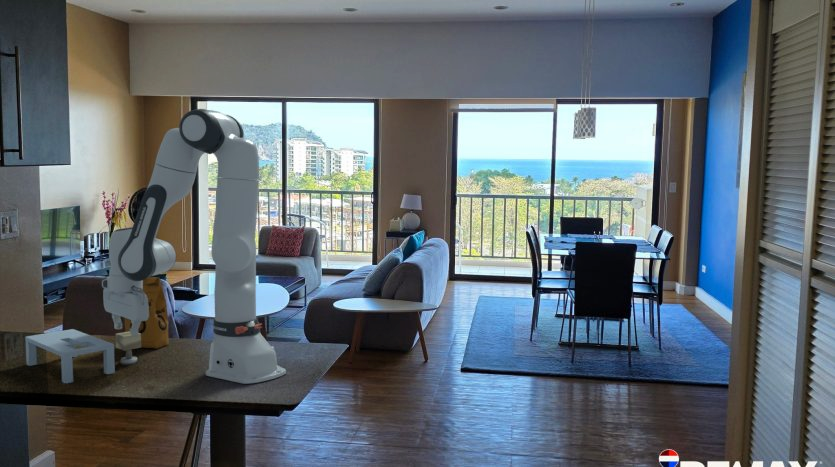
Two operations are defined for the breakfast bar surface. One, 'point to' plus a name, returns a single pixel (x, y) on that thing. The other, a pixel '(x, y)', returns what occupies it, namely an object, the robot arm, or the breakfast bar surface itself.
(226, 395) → the breakfast bar surface
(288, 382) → the breakfast bar surface
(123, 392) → the breakfast bar surface
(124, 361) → the peg
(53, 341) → the keyhole stand
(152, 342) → the coffee package
